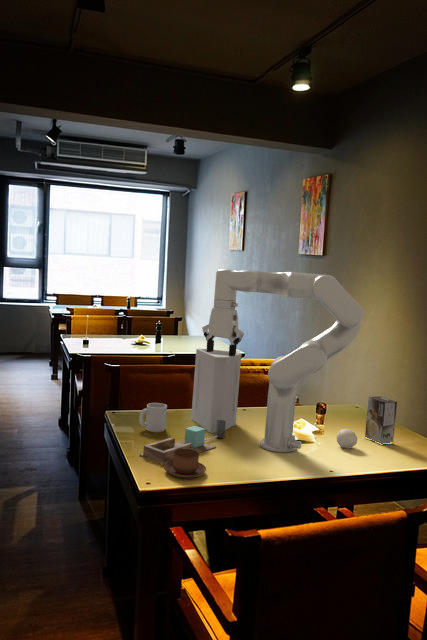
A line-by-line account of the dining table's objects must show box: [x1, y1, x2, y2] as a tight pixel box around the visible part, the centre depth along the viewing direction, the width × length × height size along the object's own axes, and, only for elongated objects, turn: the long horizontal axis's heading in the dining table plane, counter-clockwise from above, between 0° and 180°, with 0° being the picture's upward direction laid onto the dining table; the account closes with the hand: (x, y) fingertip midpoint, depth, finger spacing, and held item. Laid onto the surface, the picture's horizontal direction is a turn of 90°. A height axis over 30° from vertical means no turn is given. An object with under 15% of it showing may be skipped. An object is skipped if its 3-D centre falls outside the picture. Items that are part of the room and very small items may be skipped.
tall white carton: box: [190, 348, 242, 434], centre depth 209 cm, size 19×15×28 cm
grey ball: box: [336, 428, 358, 449], centre depth 192 cm, size 7×7×7 cm
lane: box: [138, 437, 217, 466], centre depth 175 cm, size 25×11×3 cm, turn 142°
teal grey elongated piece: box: [183, 420, 226, 448], centre depth 187 cm, size 19×4×6 cm, turn 142°
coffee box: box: [364, 396, 398, 444], centre depth 203 cm, size 9×6×16 cm
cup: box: [138, 402, 168, 433], centre depth 196 cm, size 7×10×9 cm
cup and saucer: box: [164, 449, 207, 479], centre depth 157 cm, size 12×12×6 cm
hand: (220, 353), depth 189 cm, fingers open, 9 cm apart
